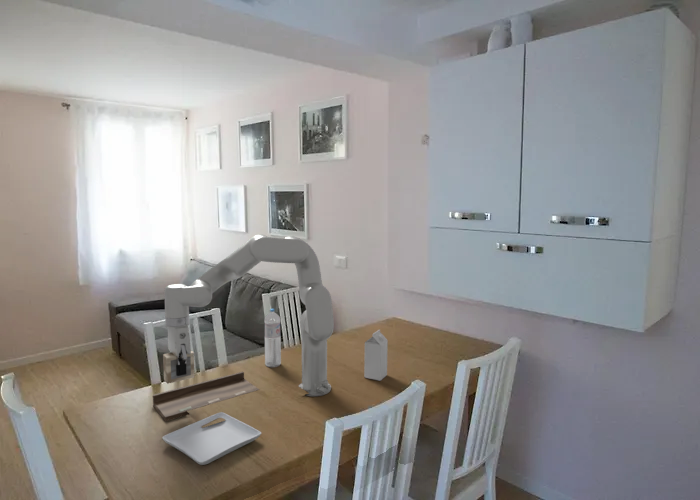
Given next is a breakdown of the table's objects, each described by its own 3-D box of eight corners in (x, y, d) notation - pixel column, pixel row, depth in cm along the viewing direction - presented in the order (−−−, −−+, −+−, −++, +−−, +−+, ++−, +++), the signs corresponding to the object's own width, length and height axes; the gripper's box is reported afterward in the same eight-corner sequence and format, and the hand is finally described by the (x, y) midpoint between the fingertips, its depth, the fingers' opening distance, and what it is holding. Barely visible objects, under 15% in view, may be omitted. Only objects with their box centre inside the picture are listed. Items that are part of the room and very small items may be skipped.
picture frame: (194, 377, 156) (193, 352, 154) (167, 383, 150) (166, 358, 149) (190, 373, 159) (189, 349, 158) (164, 379, 153) (163, 354, 152)
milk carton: (364, 377, 183) (364, 332, 181) (371, 371, 189) (372, 328, 187) (380, 381, 180) (380, 335, 177) (387, 375, 186) (387, 330, 184)
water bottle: (272, 369, 191) (271, 312, 188) (261, 365, 195) (260, 309, 192) (284, 364, 197) (283, 308, 194) (273, 360, 201) (272, 306, 198)
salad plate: (221, 419, 149) (221, 409, 149) (263, 442, 136) (263, 431, 135) (160, 447, 133) (160, 436, 132) (201, 475, 119) (200, 463, 119)
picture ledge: (259, 393, 168) (259, 383, 167) (165, 421, 147) (165, 409, 146) (243, 381, 179) (242, 371, 178) (153, 405, 158) (152, 394, 157)
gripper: (197, 324, 148) (198, 378, 150) (180, 314, 161) (181, 363, 163) (174, 328, 143) (175, 383, 145) (158, 317, 156) (160, 367, 158)
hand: (179, 372), depth 154 cm, fingers closed on picture frame, 4 cm apart
